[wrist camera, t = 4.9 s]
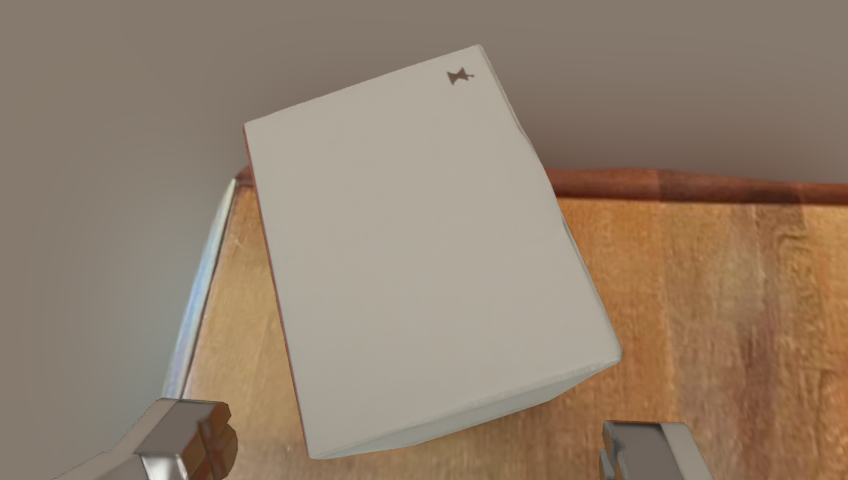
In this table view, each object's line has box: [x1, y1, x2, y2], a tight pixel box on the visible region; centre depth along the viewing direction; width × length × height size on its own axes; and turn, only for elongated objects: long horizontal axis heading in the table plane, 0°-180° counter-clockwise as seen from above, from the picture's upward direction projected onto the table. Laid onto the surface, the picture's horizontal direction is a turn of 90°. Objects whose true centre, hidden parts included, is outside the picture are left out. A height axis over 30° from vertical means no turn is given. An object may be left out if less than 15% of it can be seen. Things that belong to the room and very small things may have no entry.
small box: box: [243, 44, 623, 460], centre depth 17 cm, size 8×6×13 cm
